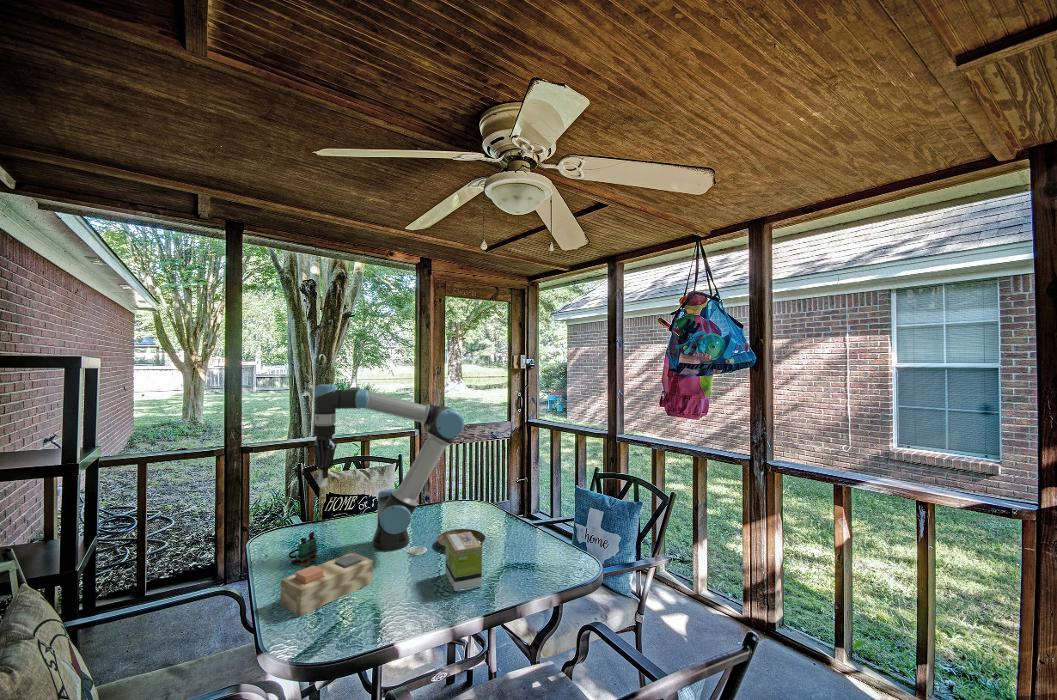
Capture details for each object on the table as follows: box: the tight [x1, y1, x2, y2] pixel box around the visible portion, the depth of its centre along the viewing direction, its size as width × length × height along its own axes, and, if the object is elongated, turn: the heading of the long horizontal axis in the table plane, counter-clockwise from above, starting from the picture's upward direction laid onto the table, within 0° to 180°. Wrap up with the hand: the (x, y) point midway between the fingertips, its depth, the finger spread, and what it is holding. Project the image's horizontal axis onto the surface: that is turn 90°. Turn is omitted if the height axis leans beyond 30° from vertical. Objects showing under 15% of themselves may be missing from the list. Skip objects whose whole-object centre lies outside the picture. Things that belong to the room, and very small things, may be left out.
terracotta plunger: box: [294, 565, 323, 585], centre depth 146 cm, size 6×6×8 cm
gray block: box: [335, 555, 361, 568], centre depth 158 cm, size 6×6×8 cm
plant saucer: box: [436, 528, 486, 550], centre depth 195 cm, size 21×21×3 cm
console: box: [279, 551, 374, 618], centre depth 152 cm, size 26×12×8 cm, turn 146°
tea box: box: [444, 532, 483, 591], centre depth 163 cm, size 15×10×15 cm, turn 23°
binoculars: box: [288, 532, 318, 567], centre depth 176 cm, size 9×11×10 cm
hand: (322, 486), depth 173 cm, fingers closed
